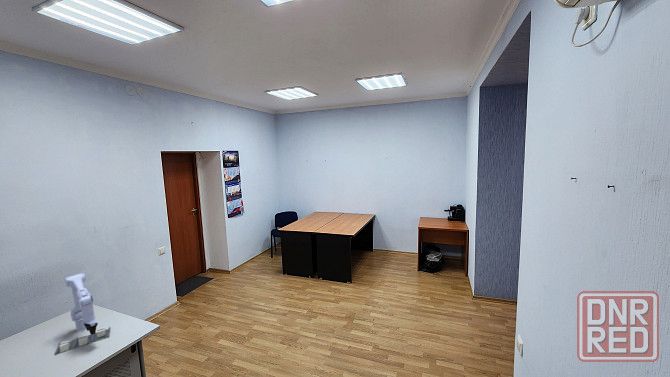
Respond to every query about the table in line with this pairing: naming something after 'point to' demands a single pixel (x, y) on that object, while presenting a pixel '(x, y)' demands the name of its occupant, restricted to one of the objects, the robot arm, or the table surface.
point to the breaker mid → (83, 340)
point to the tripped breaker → (101, 332)
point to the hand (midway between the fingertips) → (91, 331)
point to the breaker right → (64, 346)
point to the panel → (91, 339)
